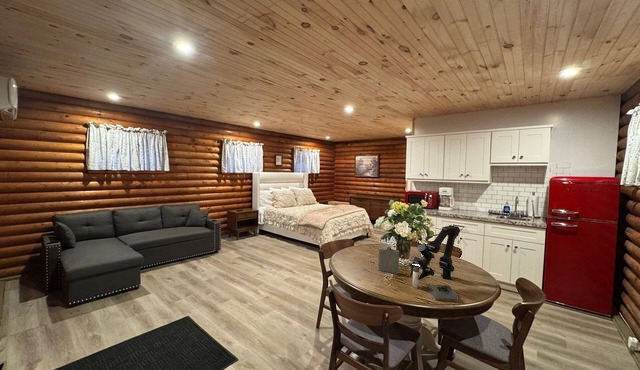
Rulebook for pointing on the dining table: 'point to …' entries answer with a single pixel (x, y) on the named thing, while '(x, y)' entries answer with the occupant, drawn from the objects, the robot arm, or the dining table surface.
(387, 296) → the dining table surface
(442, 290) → the gray rectangular frame
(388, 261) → the hip flask
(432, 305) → the dining table surface
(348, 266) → the dining table surface
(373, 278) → the dining table surface
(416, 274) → the plug
